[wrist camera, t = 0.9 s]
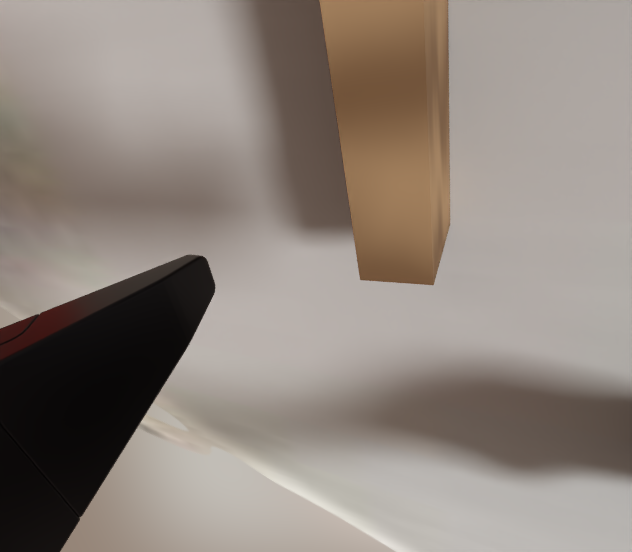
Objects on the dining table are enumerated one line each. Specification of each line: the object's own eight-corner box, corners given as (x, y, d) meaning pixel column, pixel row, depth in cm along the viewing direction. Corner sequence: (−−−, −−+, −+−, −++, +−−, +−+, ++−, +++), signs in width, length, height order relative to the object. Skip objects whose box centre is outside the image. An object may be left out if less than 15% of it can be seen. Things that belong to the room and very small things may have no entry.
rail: (450, 224, 21) (433, 285, 17) (387, 222, 22) (359, 280, 18) (447, -185, 13) (415, -235, 10) (351, -153, 14) (291, -186, 11)
